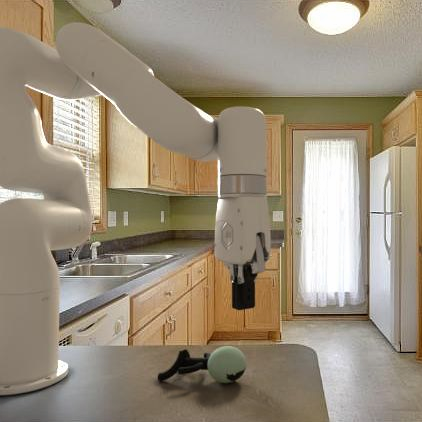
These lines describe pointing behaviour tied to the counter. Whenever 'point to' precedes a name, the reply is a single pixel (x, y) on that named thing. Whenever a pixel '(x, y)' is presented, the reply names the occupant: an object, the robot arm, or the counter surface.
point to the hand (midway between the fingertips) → (243, 307)
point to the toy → (210, 364)
